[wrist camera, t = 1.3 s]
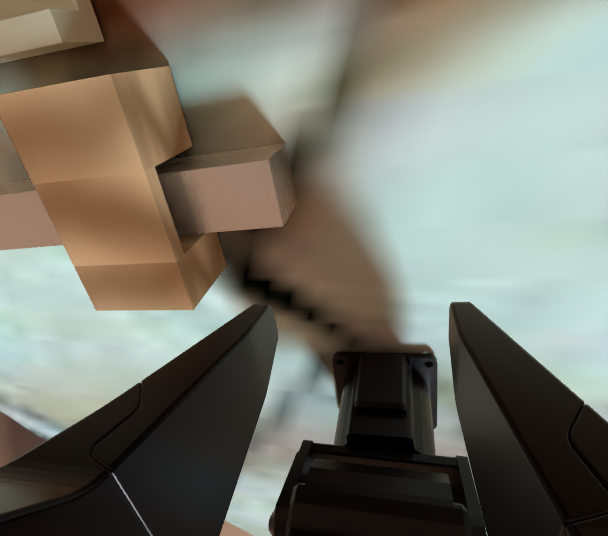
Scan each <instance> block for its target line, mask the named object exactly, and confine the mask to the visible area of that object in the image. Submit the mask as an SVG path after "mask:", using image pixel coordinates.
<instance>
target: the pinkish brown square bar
mask: <svg viewBox="0 0 608 536" xmlns="http://www.w3.org/2000/svg"><path fill="white" fill-rule="evenodd" d="M155 169H156V172H157V175H158V178H159V181H160V184H161V187H162V190H163V193H164V196H165V199H166V202H167V205H168V208H169V211H170V214H171V216H172V219H173V222H174V225H175V228H176V231H177V234H178V235H188V234H200V233H212V232H224V231H236V230H248V229H260V228H272V227H283V226H284V224H285V223H286V221H287V219H288V218H289V216H290V214H291V213H292V211H293V209H294V208H295V206H296V204H297V199H296V193H295V188H294V183H293V178H292V173H291V168H290V163H289V158H288V152H287V147H286V143H281V144H274V145H267V146H260V147H253V148H246V149H239V150H232V151H225V152H218V153H211V154H204V155H197V156H190V157H183V158H176V159H169V160H166V161H164V162H163V163H161V164H159V165H157V166H155ZM56 245H63V243H62V241H61V239H60V237H59V235H58V233H57V231H56V229H55V227H54V225H53V223H52V221H51V219H50V217H49V215H48V213H47V211H46V209H45V207H44V205H43V203H42V201H41V199H40V197H39V195H38V193H37V191H36V189H35V187H34V185H33V183H32V181H31V179H29V180H22V181H15V182H10V183H7V184H5V185H2V186H0V250H8V249H20V248H32V247H44V246H56Z"/></svg>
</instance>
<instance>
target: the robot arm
mask: <svg viewBox="0 0 608 536" xmlns="http://www.w3.org/2000/svg"><path fill="white" fill-rule="evenodd" d="M277 341H278V330H277V326H276V321H275V317H274V313H273V309H272V307H271V305H269V304H254V305H252V306H251V307H249V308H248V309H246V310H245V311H243V312H242V313H240V314H239V315H237V316H236V317H235V318H233V319H232V320H230V321H229V322H227V323H226V324H224V325H223V326H221V327H220V328H218V329H217V330H216V331H214V332H213V333H211V334H210V335H208V336H207V337H205V338H204V339H202V340H201V341H199V342H198V343H196V344H195V345H194V346H192V347H191V348H189V349H188V350H186V351H185V352H183V353H182V354H180V355H179V356H177V357H176V358H174V359H173V360H172V361H170V362H169V363H167V364H166V365H164V366H163V367H161V368H160V369H158V370H157V371H155V372H154V373H152V374H151V375H150V376H148V377H147V378H145V379H144V380H142V382H141V383H138V384H136V385H135V386H133V387H132V388H130V389H129V390H128V391H126V392H125V393H123V394H122V395H120V396H119V397H117V398H116V399H114V400H112V401H111V402H109V403H108V404H106V405H105V406H103V407H102V408H100V409H99V410H97V411H95V412H94V413H92V414H90V415H89V416H87V417H85V418H84V419H82V420H81V421H79V422H77V423H76V424H74V425H72V426H71V427H69V428H67V429H66V430H64V431H62V432H60V433H59V434H57V435H55V436H54V437H52V438H50V439H49V440H47V441H45V442H44V443H42V444H40V445H39V446H37V447H35V448H34V449H32V450H30V451H29V452H27V453H25V454H24V455H22V456H20V457H19V458H17V459H15V460H13V461H12V462H10V463H8V464H7V465H4V466H2V467H0V536H219V535H220V532H221V529H222V525H223V523H224V520H225V517H226V514H227V511H228V508H229V505H230V502H231V499H232V496H233V493H234V490H235V487H236V484H237V481H238V478H239V475H240V472H241V469H242V466H243V463H244V460H245V457H246V454H247V451H248V448H249V445H250V442H251V439H252V436H253V433H254V430H255V427H256V424H257V421H258V418H259V415H260V412H261V409H262V406H263V403H264V400H265V397H266V393H267V389H268V384H269V380H270V375H271V370H272V365H273V360H274V355H275V351H276V346H277ZM449 346H450V355H451V365H452V374H453V384H454V393H455V401H456V406H457V411H458V416H459V420H460V424H461V428H462V432H463V436H464V440H465V445H466V449H467V453H468V457H469V461H470V465H471V469H472V473H471V469H470V466H469V462H468V458H467V457H464V456H456V457H446V456H437V455H435V443H434V431H433V429H435V428H436V426H437V359H436V357H435V356H434V355H432V354H414V353H366V352H337V353H335V354H334V356H333V368H334V374H335V380H336V386H337V393H338V399H339V405H340V409H339V415H338V422H337V428H336V434H335V440H334V445H331V444H321V443H313V441H309V440H303V442H302V445H301V447H300V450H299V452H297V454H296V456H295V459H294V461H293V464H292V466H291V469H290V471H289V474H288V476H287V479H286V481H285V484H284V486H283V489H282V491H281V494H280V496H279V499H278V501H277V504H276V507H275V510H274V512H273V513H272V515H271V516H270V519H269V531H270V533H271V535H272V536H608V422H607V421H606V420H605V419H604V418H602V417H601V416H600V415H599V414H598V413H597V412H596V411H594V410H593V409H592V408H591V407H590V406H589V405H584V401H583V400H582V399H580V398H579V397H578V396H577V395H576V394H575V393H574V392H572V391H571V390H570V389H569V388H568V387H567V386H566V385H564V384H563V383H562V382H561V381H560V380H559V379H558V378H556V377H555V376H554V375H553V374H552V373H551V372H550V371H548V370H547V369H546V368H545V367H544V366H543V365H542V364H540V363H539V362H538V361H537V360H536V359H535V358H534V357H532V356H531V355H530V354H529V353H528V352H527V351H526V350H524V349H523V348H522V347H521V346H520V345H519V344H518V343H516V342H515V341H514V340H513V339H512V338H511V337H510V336H508V335H507V334H506V333H505V332H504V331H503V330H502V329H500V328H499V327H498V326H497V325H496V324H495V323H494V322H492V321H491V320H490V319H489V318H488V317H487V316H486V315H484V314H483V313H482V312H481V311H480V310H479V309H478V308H476V307H475V306H474V305H473V304H472V303H470V302H452V303H451V304H450V308H449ZM338 359H342V360H343V361H340V360H338ZM427 361H430V362H431V363H426V362H427ZM472 474H473V477H472ZM473 478H474V481H473ZM474 482H475V485H474ZM475 486H476V489H475ZM476 490H477V492H476ZM477 494H478V496H477ZM478 498H479V500H478ZM479 503H480V504H479ZM480 507H481V508H480ZM481 511H482V512H481ZM482 515H483V516H482ZM483 519H484V520H483ZM484 523H485V524H484ZM485 527H486V529H485ZM486 532H487V535H486Z"/></svg>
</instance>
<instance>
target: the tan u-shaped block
mask: <svg viewBox="0 0 608 536" xmlns="http://www.w3.org/2000/svg"><path fill="white" fill-rule="evenodd" d="M0 119H1V121H2V123H3V125H4V127H5V129H6V131H7V133H8V135H9V137H10V139H11V141H12V143H13V145H14V147H15V149H16V151H17V153H18V155H19V157H20V159H21V161H22V163H23V165H24V167H25V169H26V171H27V173H28V175H29V177H30V179H31V181H32V183H33V185H34V187H35V189H36V191H37V193H38V195H39V197H40V199H41V201H42V203H43V205H44V207H45V209H46V211H47V213H48V215H49V217H50V219H51V221H52V223H53V225H54V227H55V229H56V231H57V233H58V235H59V237H60V239H61V241H62V243H63V245H64V247H65V249H66V251H67V253H68V255H69V257H70V259H71V261H72V263H73V265H74V267H75V269H76V271H77V273H78V275H79V277H80V279H81V281H82V283H83V285H84V287H85V289H86V291H87V293H88V295H89V297H90V299H91V301H92V303H93V305H94V307H95V309H96V311H97V310H194V309H195V307H196V306H197V305H198V303H199V302H200V300H201V299H202V298H203V296H204V295H205V294H206V292H207V291H208V290H209V288H210V287H211V286H212V284H213V283H214V282H215V280H216V279H217V278H218V276H219V275H220V274H221V272H222V271H223V270H224V268H225V267H226V266H227V265H226V262H225V258H224V255H223V251H222V248H221V244H220V241H219V237H218V234H217V232H212V233H200V234H188V235H178V234H177V231H176V228H175V225H174V222H173V219H172V216H171V214H170V211H169V208H168V205H167V202H166V199H165V196H164V193H163V190H162V187H161V184H160V181H159V178H158V175H157V172H156V169H155V166H157V165H159V164H161V163H163V162H164V161H166V160H168V159H170V158H172V157H174V156H175V155H177V154H179V153H181V152H183V151H185V150H186V149H188V148H190V147H192V143H191V139H190V136H189V132H188V129H187V125H186V122H185V118H184V115H183V111H182V108H181V104H180V101H179V97H178V94H177V90H176V87H175V83H174V80H173V76H172V73H171V69H170V66H165V67H157V68H150V69H143V70H136V71H129V72H122V73H115V74H108V75H103V76H97V77H92V78H87V79H81V80H76V81H71V82H65V83H60V84H55V85H49V86H44V87H39V88H33V89H28V90H23V91H17V92H12V93H7V94H1V95H0Z"/></svg>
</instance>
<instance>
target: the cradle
mask: <svg viewBox="0 0 608 536" xmlns="http://www.w3.org/2000/svg"><path fill="white" fill-rule="evenodd" d="M99 42H104V38H103V36H102V33H101V30H100V27H99V24H98V21H97V18H96V15H95V12H94V10H93V7H92V4H91V1H90V0H0V64H1V63H5V62H10V61H15V60H19V59H24V58H29V57H33V56H38V55H43V54H47V53H52V52H57V51H61V50H66V49H71V48H75V47H80V46H85V45H90V44H94V43H99Z"/></svg>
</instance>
